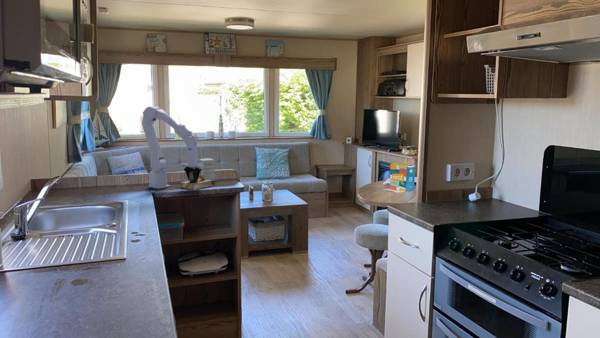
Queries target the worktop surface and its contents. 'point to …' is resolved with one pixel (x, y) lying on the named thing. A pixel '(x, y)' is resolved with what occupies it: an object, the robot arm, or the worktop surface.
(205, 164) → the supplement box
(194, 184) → the hitch block
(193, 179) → the steel peg
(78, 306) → the worktop surface
